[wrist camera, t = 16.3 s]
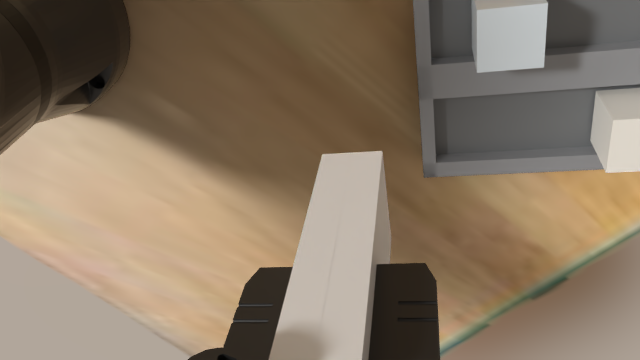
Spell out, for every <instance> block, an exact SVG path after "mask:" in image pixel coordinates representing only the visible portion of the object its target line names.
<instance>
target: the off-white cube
mask: <svg viewBox="0 0 640 360" xmlns="http://www.w3.org/2000/svg"><path fill="white" fill-rule="evenodd" d="M590 141H591V143H592V145H593V147H594V149H595V151H596V153H597V155H598V157H599V160H600V162H601V164H602V166H603V168H604V170H605V172H606V173H613V172H635V171H640V88H629V89H615V90H601V91H596V95H595V103H594V112H593V121H592V129H591V138H590Z"/></svg>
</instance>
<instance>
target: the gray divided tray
mask: <svg viewBox="0 0 640 360" xmlns="http://www.w3.org/2000/svg"><path fill="white" fill-rule="evenodd" d="M546 1H547V2H548V11H547V27H546V43H545V59H544V68H532V69H519V70H506V71H494V72H481V73H477V70H476V65H475V60H474V56H473V51H472V9H471V0H413V10H414V27H415V43H416V59H417V75H418V92H419V108H420V124H421V140H422V157H423V173H424V178H425V177H447V176H468V175H490V174H511V173H533V172H554V171H576V170H597V169H604V168H603V166H602V164H601V162H600V160H599V157H598V155H597V153H596V151H595V149H594V147H593V145H592V143H591V141H590V138H591V129H592V121H593V112H594V103H595V95H596V91H601V90H615V89H629V88H640V0H546Z"/></svg>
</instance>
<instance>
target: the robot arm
mask: <svg viewBox="0 0 640 360" xmlns="http://www.w3.org/2000/svg"><path fill="white" fill-rule="evenodd" d="M129 47H130V31H129V23H128V18H127V14H126V10H125V7H124V4H123V1H122V0H0V155H1V154H2V153H3V152H4V151H5V150H6V149H8V148H9V147H10V146H11V145H12V144H13V143H14V142H15V141H16V140H18V139H19V138H20V137H21V136H22V135H23V134H24V133H25V132H27V130H29V129H30V128H31V127H32V126H33V125H34V124H36V123H39V122H43V121H46V120H50V119H53V118H57V117H60V116H64V115H67V114H71V113H74V112H77V111H80V110H82V109H84V108H86V107H88V106H90V105H91V104H93V103H95V102H96V101H97V100H98V99H100V98H101V97H102V96H103V95H104V94H105V93H106V92H107V91H108V90H109V89H110V88H111V87H112V86H113V85H114V84H115V83H116V81H117V80H118V79H119V77H120V75H121V74H122V72H123V70H124V68H125V65H126V62H127V58H128V54H129ZM390 254H391V229H390V219H389V209H388V200H387V190H386V180H385V171H384V161H383V152H382V151H371V152H353V153H335V154H322V157H321V161H320V165H319V169H318V173H317V176H316V180H315V184H314V188H313V192H312V196H311V199H310V203H309V207H308V211H307V215H306V219H305V222H304V226H303V230H302V234H301V238H300V242H299V245H298V249H297V253H296V257H295V261H294V264H293V267H271V268H259V270H258V271H257V272H256V273H255V274H254V275H253V276H252V277H251V279H250V280H249V281H248V282H247V283H246V284H245V287H244V289H243V292H242V295H241V298H240V301H239V307H237V310H236V312H235V315H234V318H233V323H232V324H231V327H230V330H229V333H228V335H227V338H226V341H225V344H224V347H223V348H215V349H208V350H205V351H203V352H200V353H198V354H196V355H194V356H192V357H190V358H189V359H188V360H440V345H439V323H438V304H437V286H436V280H435V278H434V276H433V275H432V273H431V272H430V270H429V268H428V267H427V265H426V264H425V263H410V264H390Z"/></svg>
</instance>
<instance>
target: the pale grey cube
mask: <svg viewBox="0 0 640 360" xmlns="http://www.w3.org/2000/svg"><path fill="white" fill-rule="evenodd" d="M471 9H472V51H473V56H474V60H475V65H476V70H477V73H481V72H494V71H506V70H519V69H532V68H544V59H545V43H546V27H547V11H548V2H547V1H546V0H471Z"/></svg>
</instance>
